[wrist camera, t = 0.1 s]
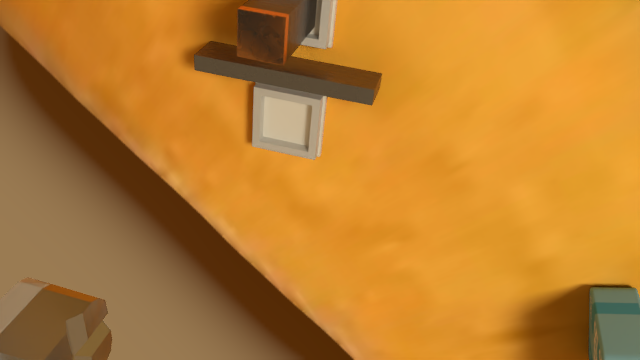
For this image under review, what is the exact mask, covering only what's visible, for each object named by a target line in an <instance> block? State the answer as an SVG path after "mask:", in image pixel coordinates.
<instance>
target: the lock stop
mask: <svg viewBox="0 0 640 360" xmlns="http://www.w3.org/2000/svg"><path fill="white" fill-rule="evenodd" d="M316 8H317V0H248V1H247V2H246V3H245V4H243V5H242V6H240V7H239V8H238V13H237V57H242V58H248V59H253V60H258V61H263V62H268V63H273V64H279V65H284V64H285V63H286V61H287V60H288V58H289V57H290V56H291V55H292V54H293V52H294V51H295V50H296V49H297V48H298V46H299V45H300V44H301V43H302V42H303V40H304V39H305V38H306V37H307V36H308V34H309V33H310V32H311V31H312V30H313V28H314V27H315V20H316Z"/></svg>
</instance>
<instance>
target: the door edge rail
mask: <svg viewBox="0 0 640 360" xmlns="http://www.w3.org/2000/svg"><path fill="white" fill-rule="evenodd" d="M194 64H195V70H197V71H202V72H207V73H212V74H217V75H222V76H227V77H232V78H237V79H242V80H247V81H252V82H257V83H262V84H267V85H272V86H277V87H282V88H287V89H292V90H297V91H302V92H307V93H312V94H317V95H322V96H327V97H332V98H337V99H342V100H347V101H352V102H357V103H362V104H367V105H373V102H374V100H375V98H376V95H377V93H378V91H379V88H380V82H381V76H382V74H381V73H376V72H371V71H365V70H360V69H355V68H350V67H344V66H339V65H334V64H329V63H323V62H318V61H313V60H308V59H302V58H297V57H292V56H290V57H289V58H288V60H287V61H286V63H285V64H284V65H279V64H273V63H268V62H263V61H258V60H253V59H248V58H242V57H237V46H234V45H229V44H223V43H218V42H213V41H210V42H209V43H208V44H207V45H205V46H204V47H203V48H202V49H201V50H199V51H198V52H197V53H196V54H195V55H194Z"/></svg>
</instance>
